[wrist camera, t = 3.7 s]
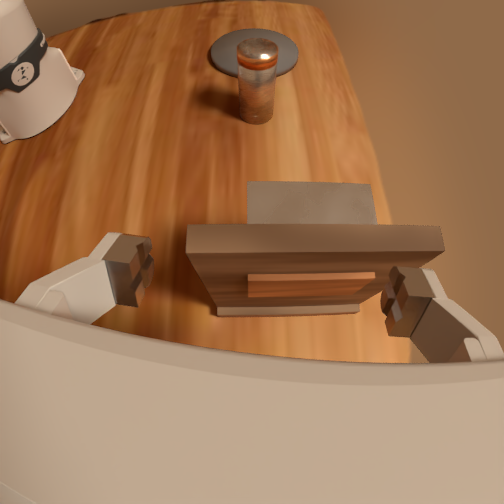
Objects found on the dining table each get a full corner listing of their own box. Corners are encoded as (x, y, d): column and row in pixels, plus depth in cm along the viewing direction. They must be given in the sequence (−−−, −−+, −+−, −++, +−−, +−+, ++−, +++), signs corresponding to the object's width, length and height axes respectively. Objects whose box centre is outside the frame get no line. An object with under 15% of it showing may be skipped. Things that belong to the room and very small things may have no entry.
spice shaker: (232, 112, 41) (227, 48, 30) (255, 96, 42) (256, 34, 31) (256, 130, 40) (258, 64, 29) (280, 112, 41) (287, 48, 30)
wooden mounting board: (355, 313, 32) (447, 263, 15) (218, 317, 32) (184, 267, 15) (348, 241, 35) (417, 145, 18) (219, 241, 34) (195, 135, 18)
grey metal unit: (345, 276, 26) (380, 241, 19) (248, 277, 26) (247, 241, 18) (339, 227, 28) (369, 178, 20) (247, 227, 27) (247, 176, 20)
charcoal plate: (194, 56, 45) (193, 51, 44) (253, 26, 48) (253, 21, 47) (255, 92, 42) (255, 86, 41) (314, 56, 45) (315, 51, 44)
